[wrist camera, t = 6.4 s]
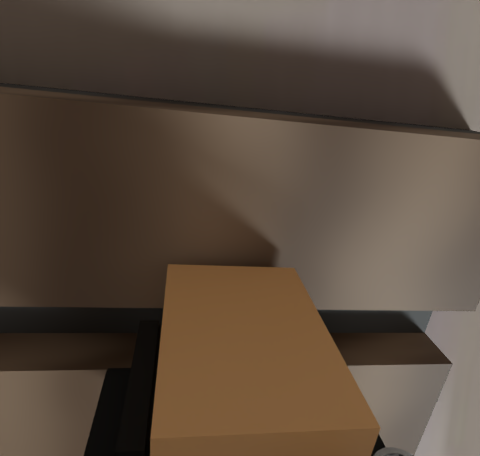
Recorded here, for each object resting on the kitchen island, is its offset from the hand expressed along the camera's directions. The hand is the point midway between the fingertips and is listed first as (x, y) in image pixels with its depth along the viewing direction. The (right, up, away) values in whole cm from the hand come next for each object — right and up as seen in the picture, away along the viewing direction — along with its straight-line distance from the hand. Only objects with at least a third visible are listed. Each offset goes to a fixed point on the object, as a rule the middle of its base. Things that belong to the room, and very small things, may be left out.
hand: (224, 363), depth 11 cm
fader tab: (0, +1, +2) cm, 3 cm away
